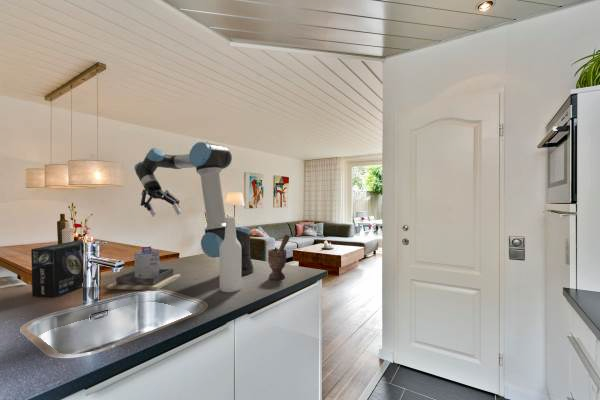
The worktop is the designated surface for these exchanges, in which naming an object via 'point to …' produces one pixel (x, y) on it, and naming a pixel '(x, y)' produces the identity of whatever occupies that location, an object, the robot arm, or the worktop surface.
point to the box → (57, 269)
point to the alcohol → (230, 259)
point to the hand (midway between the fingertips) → (167, 214)
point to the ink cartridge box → (146, 263)
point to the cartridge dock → (144, 281)
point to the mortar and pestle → (278, 260)
